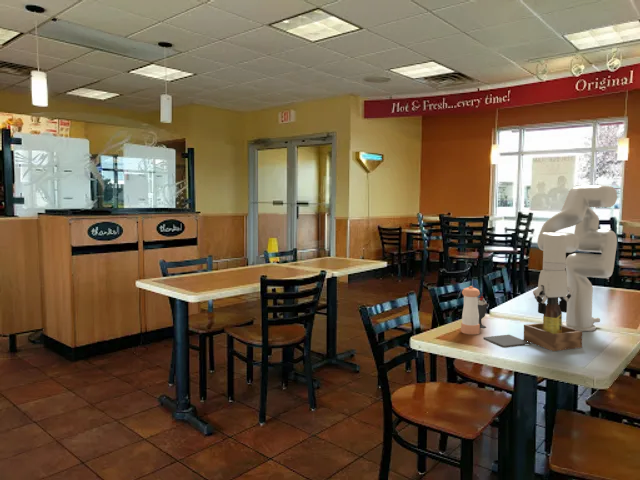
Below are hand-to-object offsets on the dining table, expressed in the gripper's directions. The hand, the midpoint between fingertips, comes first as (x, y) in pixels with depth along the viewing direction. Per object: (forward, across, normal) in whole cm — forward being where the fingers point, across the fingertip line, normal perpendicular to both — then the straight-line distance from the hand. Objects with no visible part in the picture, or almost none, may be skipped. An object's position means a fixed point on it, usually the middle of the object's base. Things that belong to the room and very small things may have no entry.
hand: (552, 312), depth 179 cm
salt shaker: (+12, +18, -24) cm, 33 cm away
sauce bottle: (+12, -1, 0) cm, 12 cm away
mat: (+12, +13, -8) cm, 20 cm away
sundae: (+12, +9, -30) cm, 34 cm away
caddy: (+12, -1, 0) cm, 12 cm away
